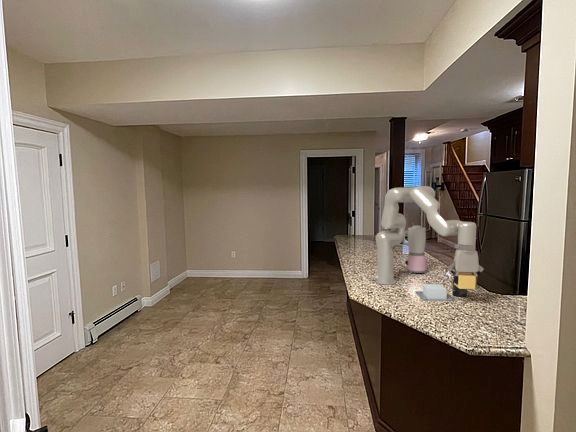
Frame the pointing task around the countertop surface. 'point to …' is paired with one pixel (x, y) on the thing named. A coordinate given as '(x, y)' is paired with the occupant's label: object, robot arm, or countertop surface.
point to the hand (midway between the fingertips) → (464, 283)
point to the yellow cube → (466, 281)
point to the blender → (416, 249)
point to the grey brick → (434, 291)
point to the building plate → (424, 298)
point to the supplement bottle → (458, 291)
